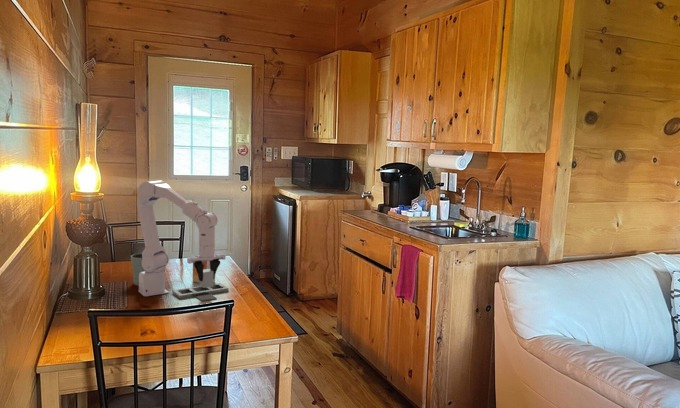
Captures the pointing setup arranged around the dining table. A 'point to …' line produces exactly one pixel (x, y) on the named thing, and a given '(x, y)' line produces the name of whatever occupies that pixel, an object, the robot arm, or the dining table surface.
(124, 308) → the dining table surface
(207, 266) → the small box
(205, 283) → the block
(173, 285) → the dining table surface
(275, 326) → the dining table surface
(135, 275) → the green bin
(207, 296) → the pad
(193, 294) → the grey slotted plate
